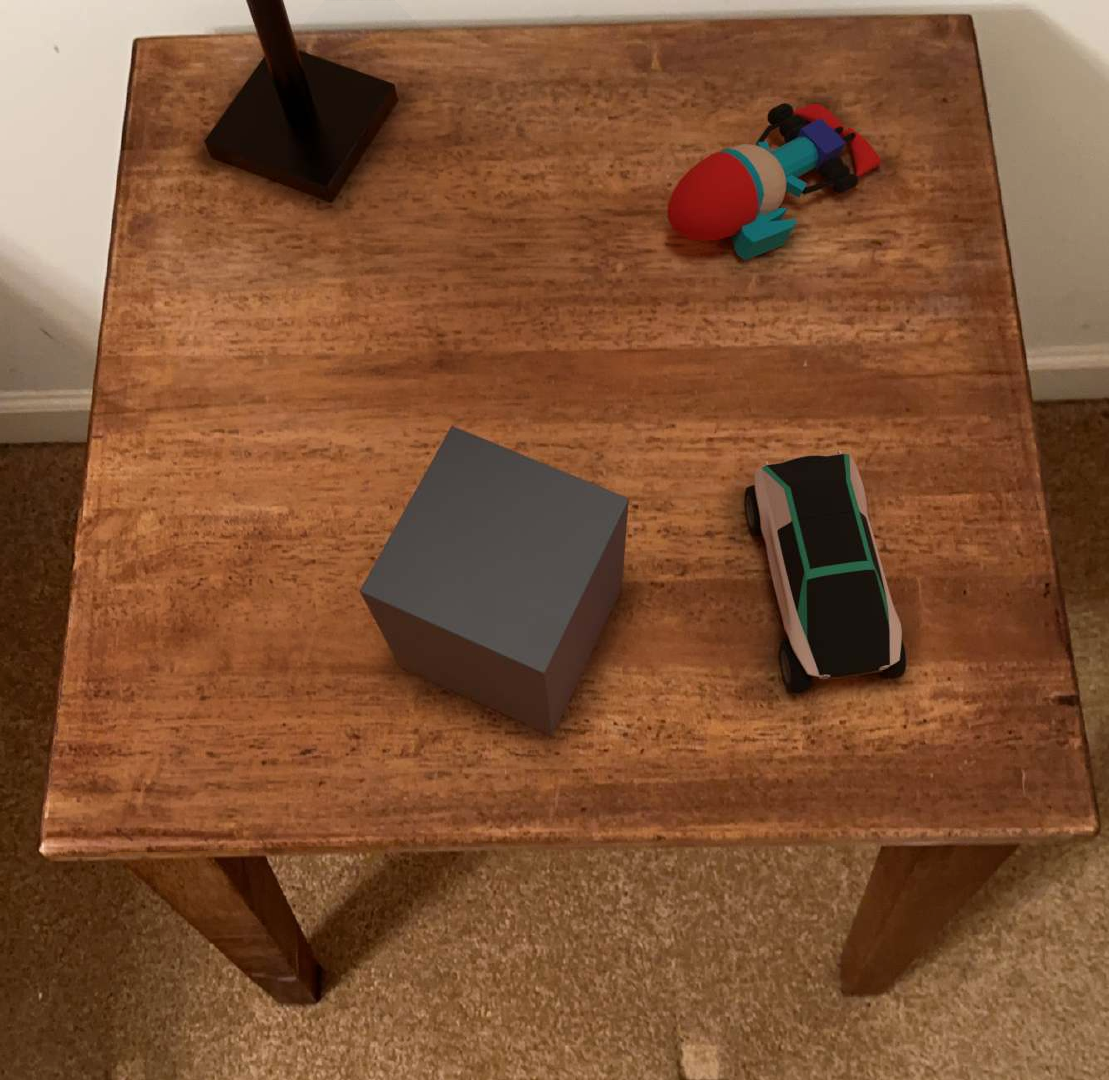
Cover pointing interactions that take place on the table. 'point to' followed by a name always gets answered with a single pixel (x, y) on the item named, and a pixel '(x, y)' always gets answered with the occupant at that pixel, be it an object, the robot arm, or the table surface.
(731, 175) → the toy figure
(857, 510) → the toy car
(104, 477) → the table surface
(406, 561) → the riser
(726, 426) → the table surface
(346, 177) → the hat stand
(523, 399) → the table surface
